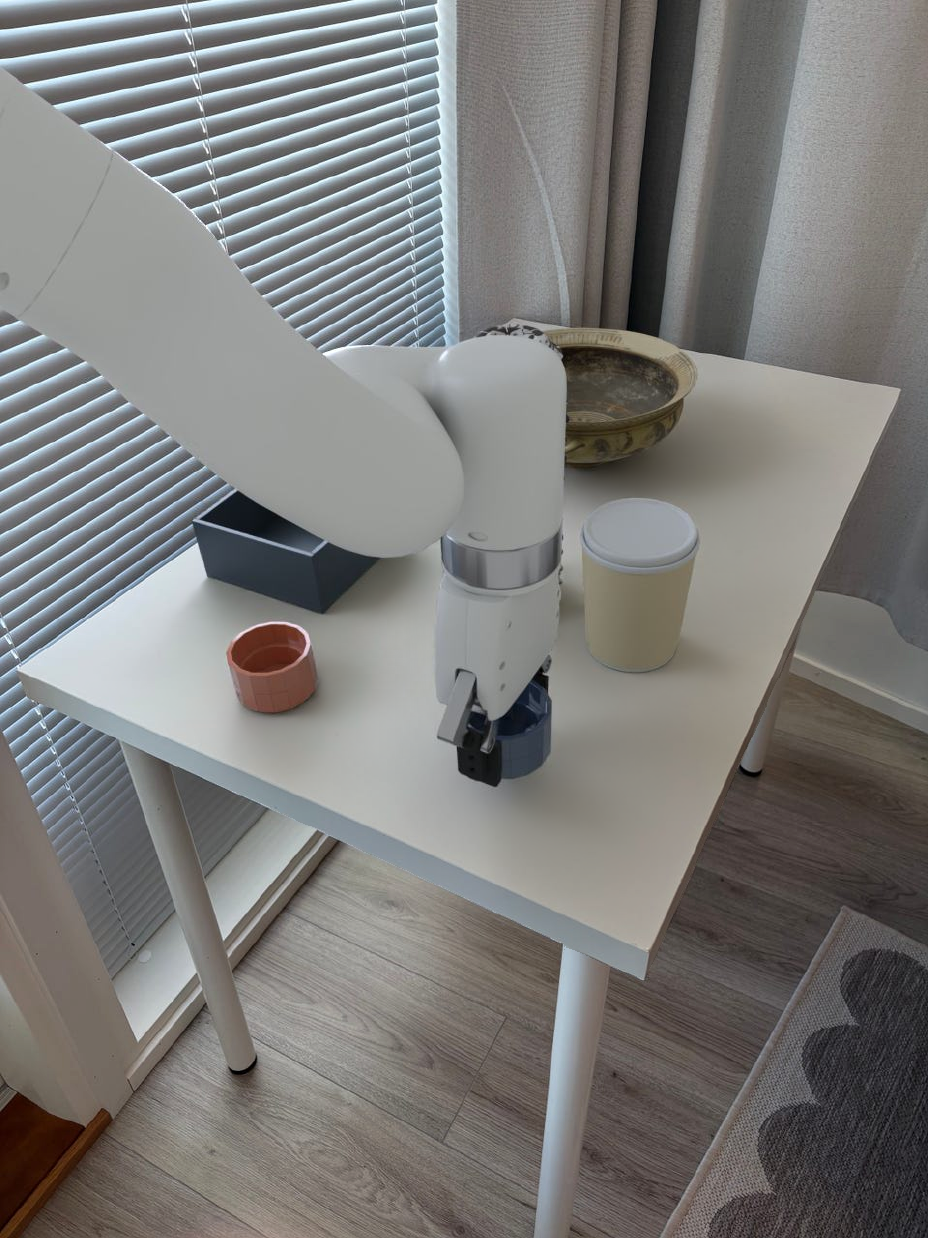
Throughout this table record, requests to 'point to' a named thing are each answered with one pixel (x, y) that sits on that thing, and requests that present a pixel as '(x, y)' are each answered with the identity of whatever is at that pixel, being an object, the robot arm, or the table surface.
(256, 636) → the terracotta flower pot
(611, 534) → the coffee cup
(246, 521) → the tub
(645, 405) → the ceramic bowl
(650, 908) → the table surface
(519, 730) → the faceted blue pot
